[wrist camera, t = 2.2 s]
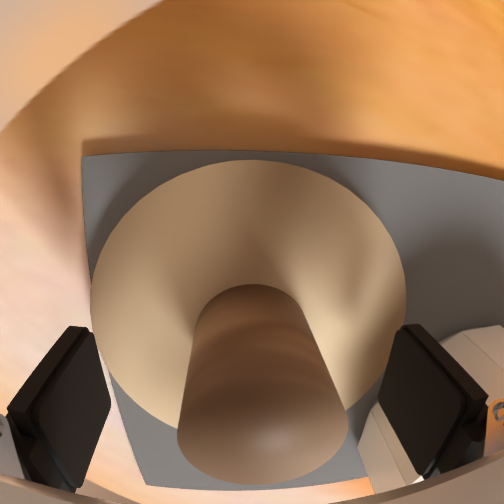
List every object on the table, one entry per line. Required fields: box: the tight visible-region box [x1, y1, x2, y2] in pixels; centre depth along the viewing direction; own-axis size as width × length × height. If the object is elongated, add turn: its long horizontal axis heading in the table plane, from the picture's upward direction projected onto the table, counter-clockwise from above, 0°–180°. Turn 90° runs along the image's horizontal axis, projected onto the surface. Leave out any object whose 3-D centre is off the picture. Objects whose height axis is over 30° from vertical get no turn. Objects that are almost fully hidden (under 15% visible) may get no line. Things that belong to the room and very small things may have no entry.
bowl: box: [357, 325, 504, 494], centre depth 12 cm, size 11×11×6 cm
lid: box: [90, 160, 406, 485], centre depth 9 cm, size 12×12×6 cm
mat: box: [82, 150, 504, 491], centre depth 14 cm, size 24×19×1 cm
